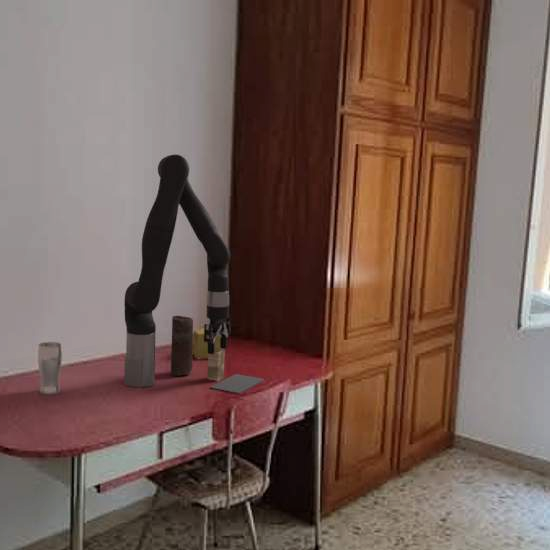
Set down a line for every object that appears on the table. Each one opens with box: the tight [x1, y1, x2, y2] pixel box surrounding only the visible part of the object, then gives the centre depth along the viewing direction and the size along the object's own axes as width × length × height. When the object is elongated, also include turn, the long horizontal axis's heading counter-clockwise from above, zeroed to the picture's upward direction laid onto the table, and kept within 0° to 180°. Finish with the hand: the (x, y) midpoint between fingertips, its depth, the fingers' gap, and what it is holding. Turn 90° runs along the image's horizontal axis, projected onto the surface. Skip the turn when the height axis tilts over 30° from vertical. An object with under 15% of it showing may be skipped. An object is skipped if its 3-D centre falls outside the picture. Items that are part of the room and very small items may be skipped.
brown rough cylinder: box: [170, 315, 194, 377], centre depth 245 cm, size 8×7×20 cm
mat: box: [209, 373, 265, 395], centre depth 238 cm, size 18×11×1 cm, turn 155°
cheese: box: [192, 327, 225, 360], centre depth 272 cm, size 10×11×10 cm
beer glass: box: [37, 341, 63, 395], centre depth 220 cm, size 7×7×15 cm
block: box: [207, 348, 226, 382], centre depth 242 cm, size 4×4×10 cm
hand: (217, 351), depth 241 cm, fingers open, 8 cm apart
